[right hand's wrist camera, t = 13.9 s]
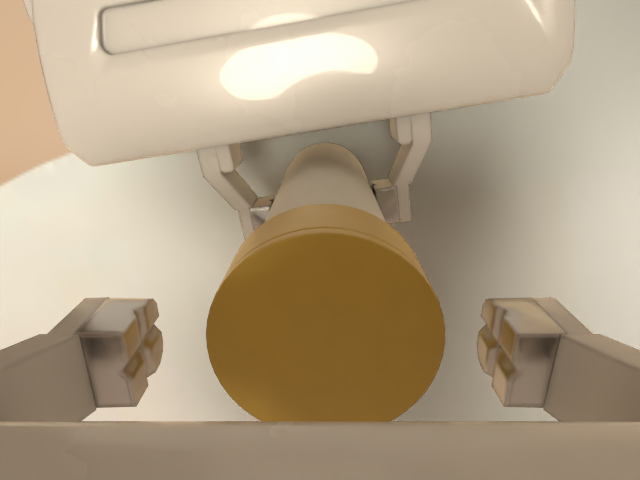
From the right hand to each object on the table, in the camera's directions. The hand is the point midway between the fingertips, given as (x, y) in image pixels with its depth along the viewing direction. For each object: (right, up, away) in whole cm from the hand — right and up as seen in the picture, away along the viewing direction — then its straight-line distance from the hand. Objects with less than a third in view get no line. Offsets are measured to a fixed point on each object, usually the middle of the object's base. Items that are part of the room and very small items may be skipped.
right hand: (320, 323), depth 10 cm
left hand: (0, +2, +10) cm, 10 cm away
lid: (0, 0, 0) cm, 0 cm away
